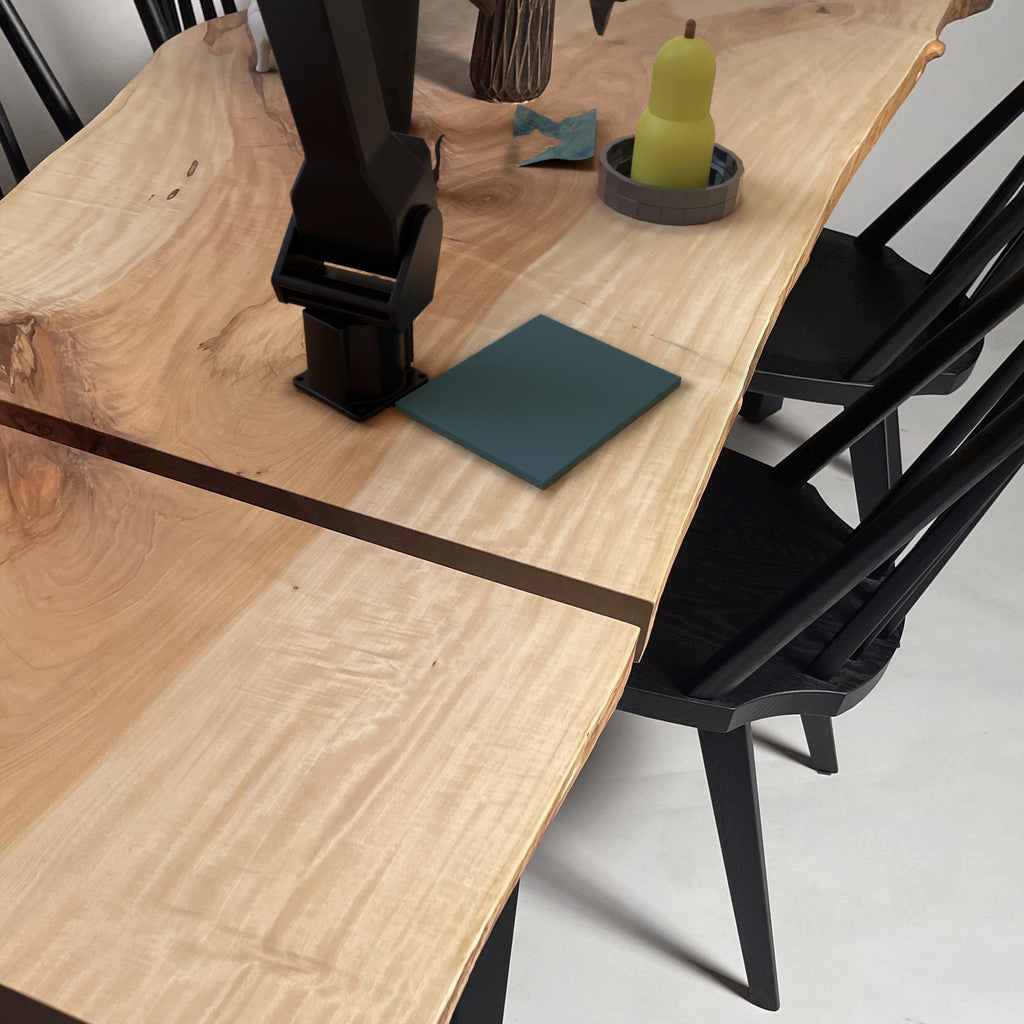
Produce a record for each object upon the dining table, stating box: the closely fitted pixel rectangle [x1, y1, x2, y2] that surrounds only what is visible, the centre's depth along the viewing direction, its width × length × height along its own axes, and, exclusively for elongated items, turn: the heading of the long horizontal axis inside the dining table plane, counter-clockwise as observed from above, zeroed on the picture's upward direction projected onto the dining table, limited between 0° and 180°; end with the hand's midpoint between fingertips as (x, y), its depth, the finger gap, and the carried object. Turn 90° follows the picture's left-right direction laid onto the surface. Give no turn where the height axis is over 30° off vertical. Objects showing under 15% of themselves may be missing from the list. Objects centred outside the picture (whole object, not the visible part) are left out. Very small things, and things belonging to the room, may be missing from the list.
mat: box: [394, 313, 682, 490], centre depth 72 cm, size 15×12×1 cm
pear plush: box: [630, 18, 717, 189], centre depth 90 cm, size 7×7×14 cm
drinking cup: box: [361, 0, 421, 135], centre depth 98 cm, size 8×8×20 cm
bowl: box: [596, 133, 746, 226], centre depth 94 cm, size 12×12×4 cm
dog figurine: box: [246, 0, 272, 73], centre depth 112 cm, size 5×13×11 cm, turn 51°
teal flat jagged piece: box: [512, 103, 598, 168], centre depth 102 cm, size 13×8×2 cm, turn 176°
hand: (546, 21), depth 85 cm, fingers open, 9 cm apart
